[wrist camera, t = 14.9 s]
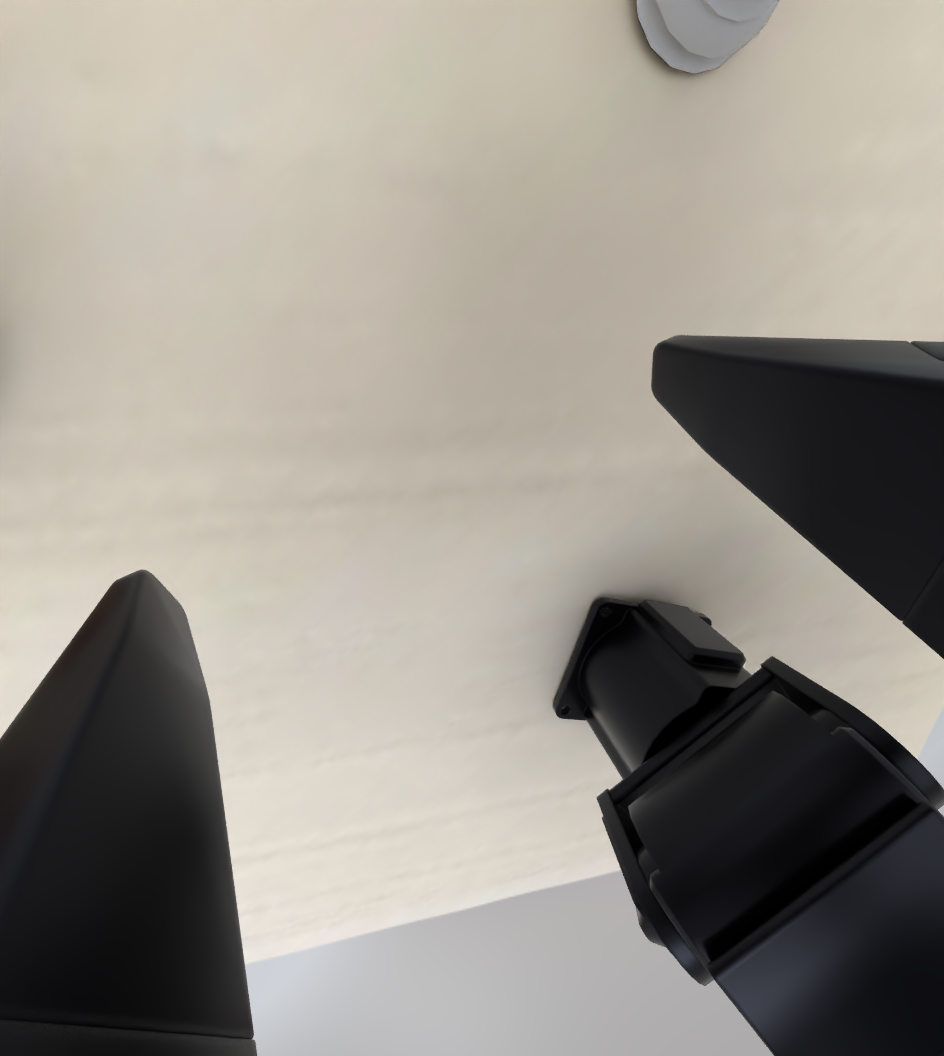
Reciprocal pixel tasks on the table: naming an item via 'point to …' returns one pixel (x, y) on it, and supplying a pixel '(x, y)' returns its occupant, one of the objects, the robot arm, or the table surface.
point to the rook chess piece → (701, 29)
